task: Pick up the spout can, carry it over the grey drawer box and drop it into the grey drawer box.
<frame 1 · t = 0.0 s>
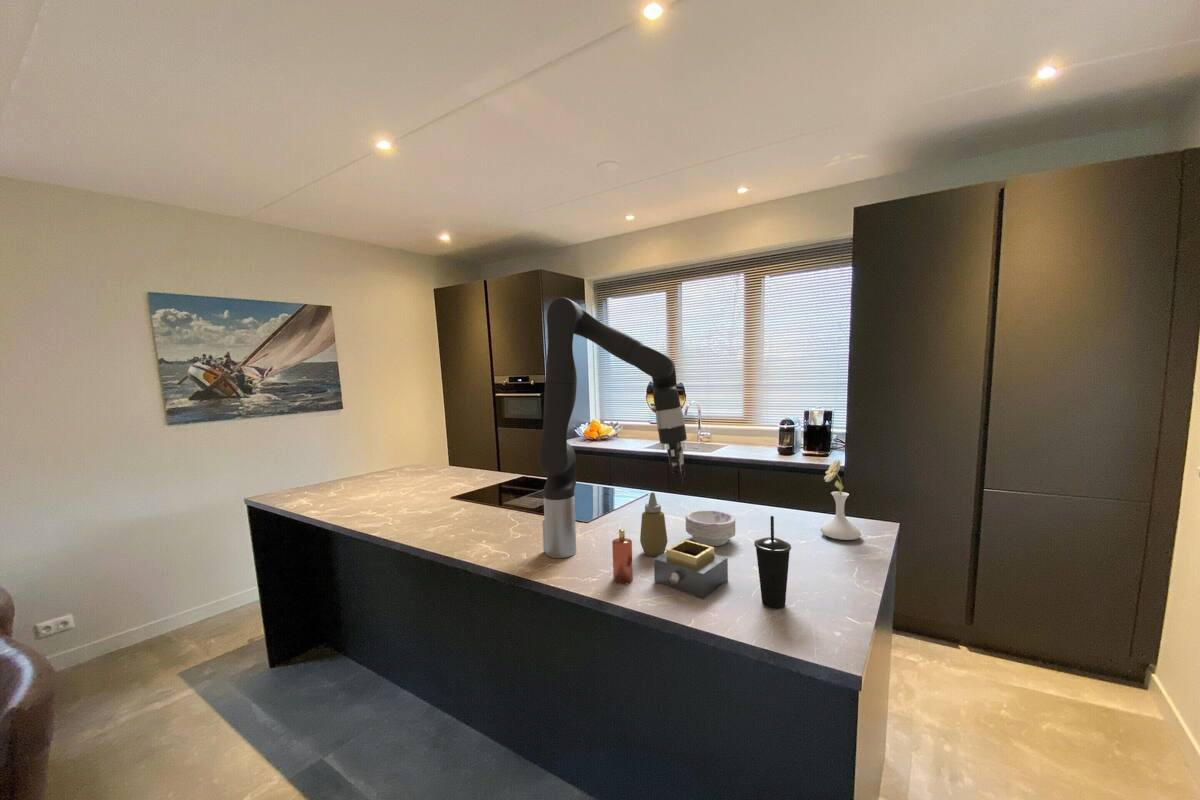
hand: (680, 482, 123), 22 cm above the countertop, tool pointing down, fingers open, 8 cm apart
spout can: (623, 579, 114), on the countertop
paper bowls: (710, 541, 139), on the countertop
drinking cup: (773, 604, 99), on the countertop
squeeze bottle: (654, 553, 130), on the countertop
flower in vase: (839, 538, 138), on the countertop
grey drawer box: (691, 581, 112), on the countertop
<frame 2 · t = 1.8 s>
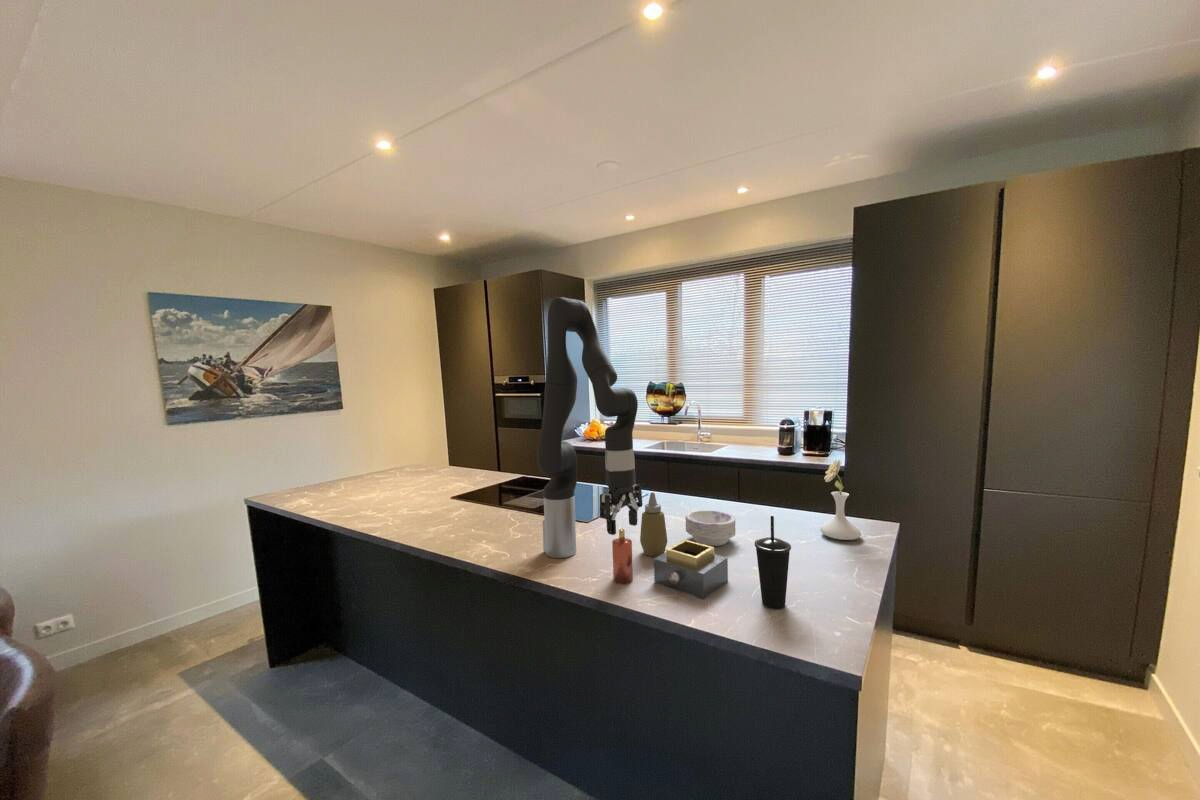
hand: (622, 529, 113), 13 cm above the countertop, tool pointing down, fingers open, 8 cm apart
nothing on the countertop moved.
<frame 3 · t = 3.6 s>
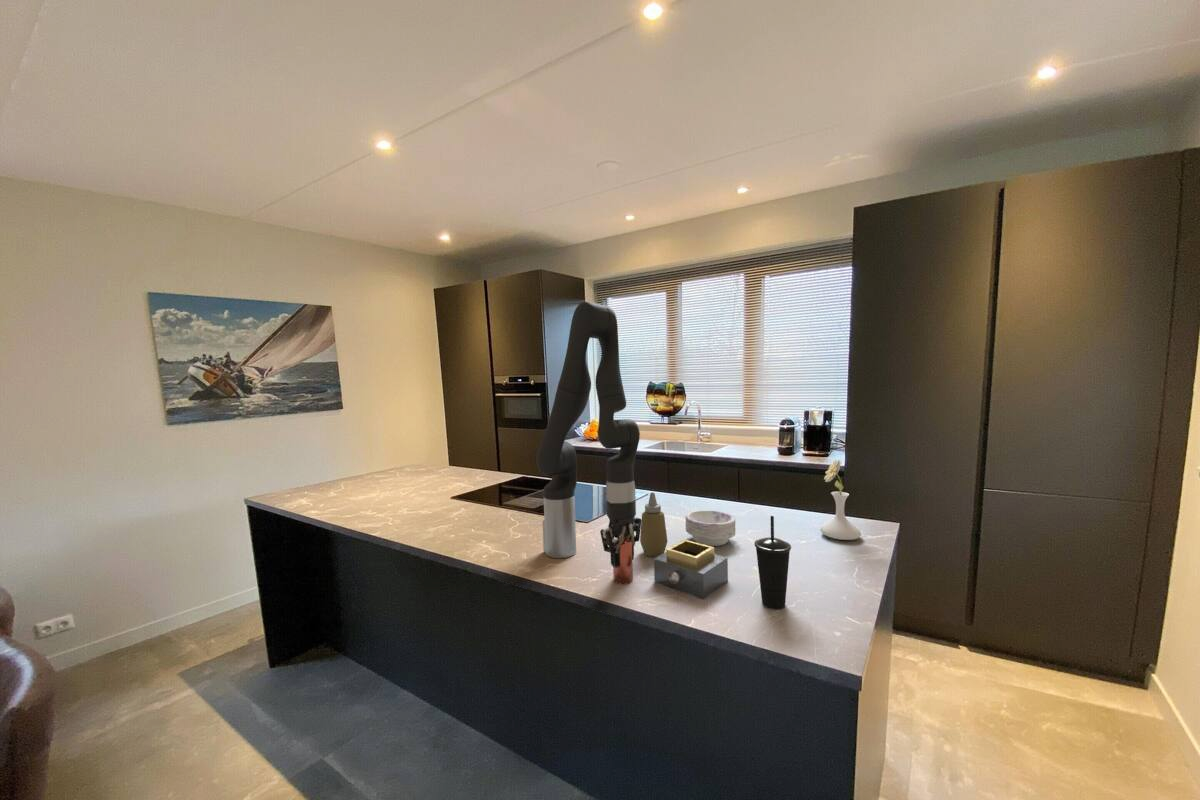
hand: (622, 562, 114), 4 cm above the countertop, tool pointing down, fingers closed on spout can, 5 cm apart
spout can: (623, 579, 114), on the countertop, touching gripper
everything else where it was.
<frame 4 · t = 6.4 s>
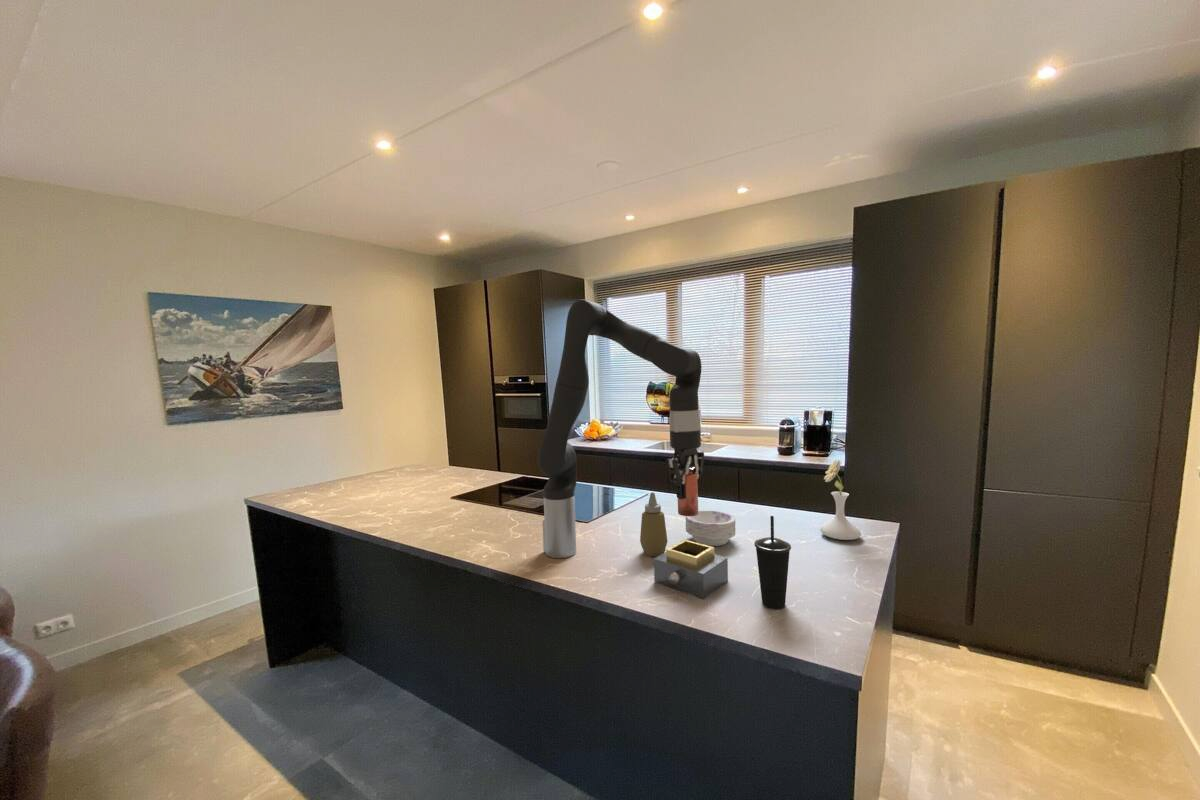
hand: (687, 495, 111), 22 cm above the countertop, tool pointing down, fingers closed on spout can, 5 cm apart
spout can: (688, 513, 111), point 18 cm above the countertop, touching gripper
everything else where it was.
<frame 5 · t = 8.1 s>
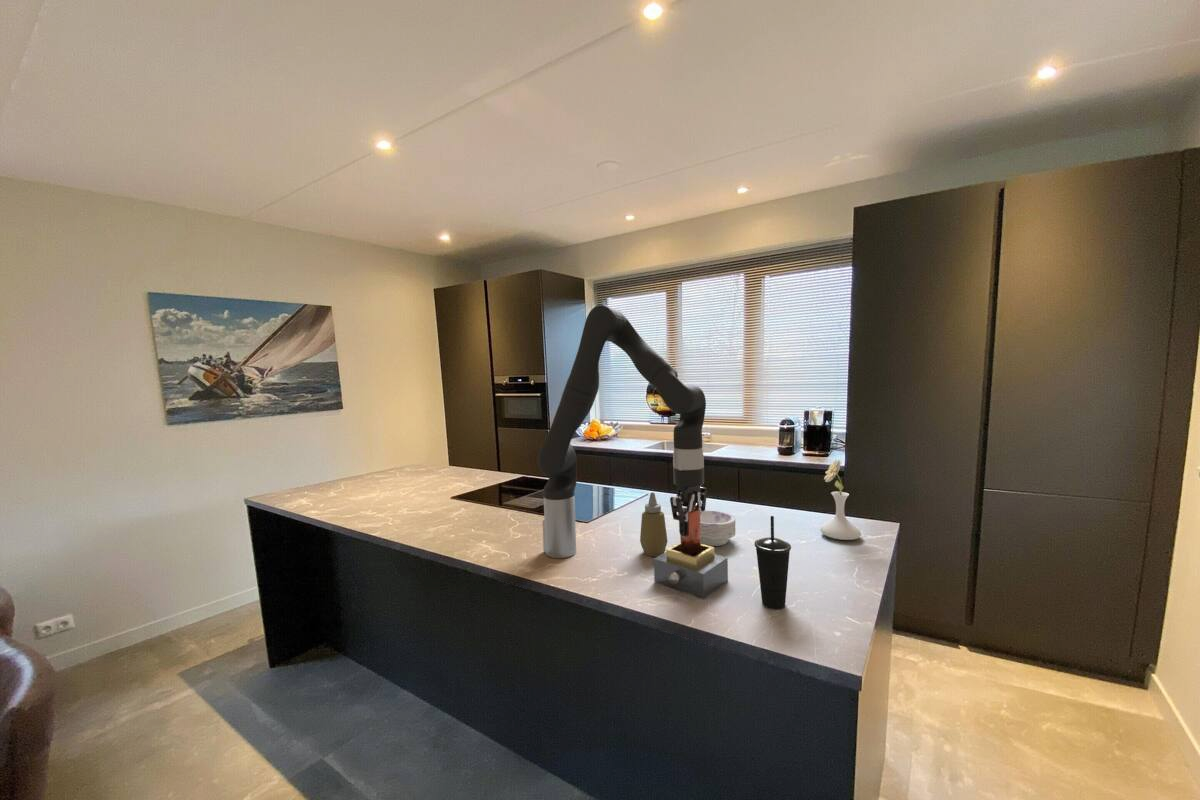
hand: (690, 532, 111), 13 cm above the countertop, tool pointing down, fingers closed on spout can, 5 cm apart
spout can: (690, 549, 111), point 8 cm above the countertop, touching gripper
everything else where it was.
when the fingers open (11 cm above the countertop, at t = 9.4 s): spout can drops 5 cm, resting on grey drawer box.
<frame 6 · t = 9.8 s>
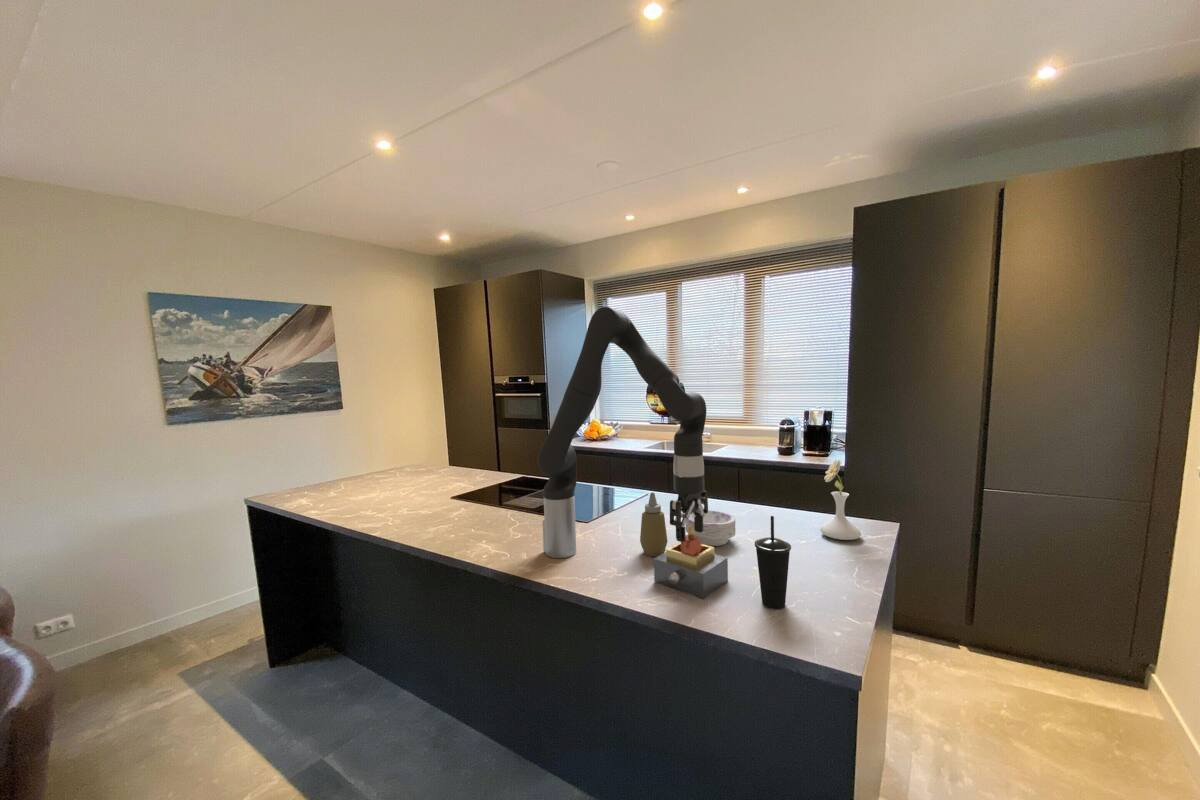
hand: (690, 536, 111), 12 cm above the countertop, tool pointing down, fingers open, 8 cm apart
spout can: (690, 577, 112), point 1 cm above the countertop, touching grey drawer box
everything else where it was.
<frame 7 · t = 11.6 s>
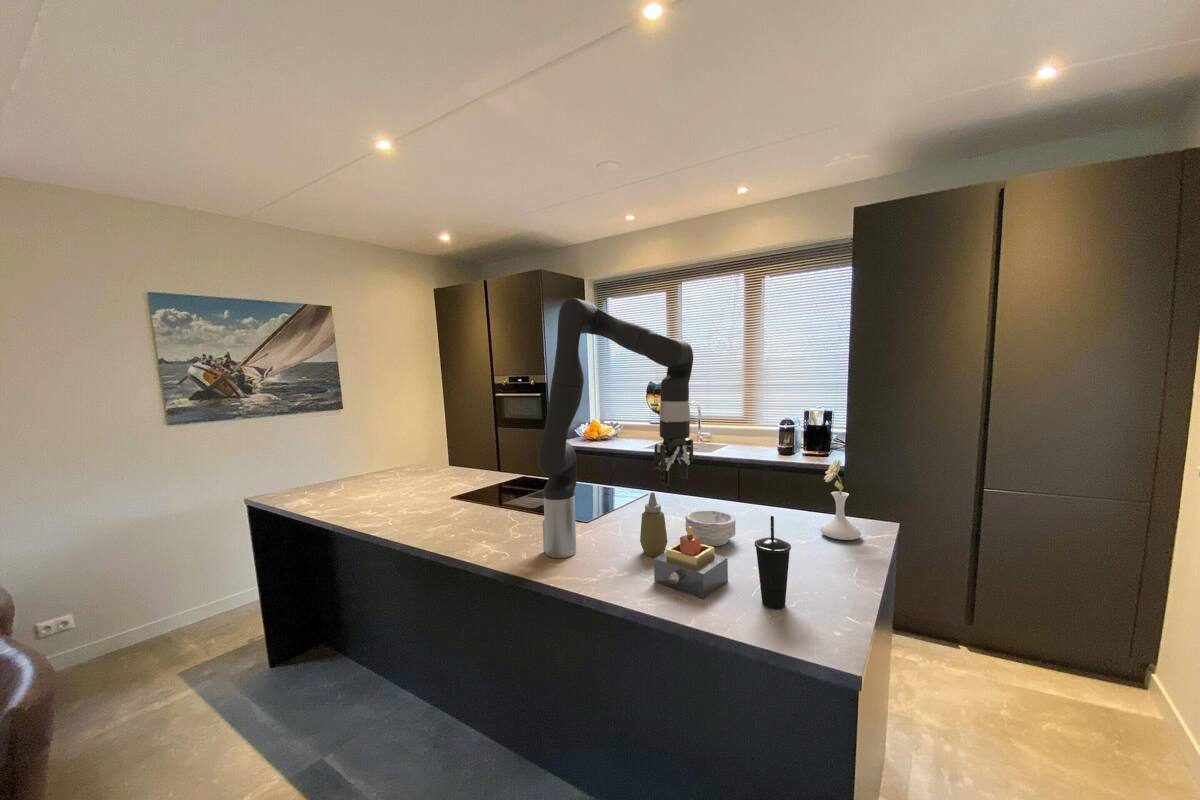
hand: (674, 482, 113), 25 cm above the countertop, tool pointing down, fingers open, 8 cm apart
nothing on the countertop moved.
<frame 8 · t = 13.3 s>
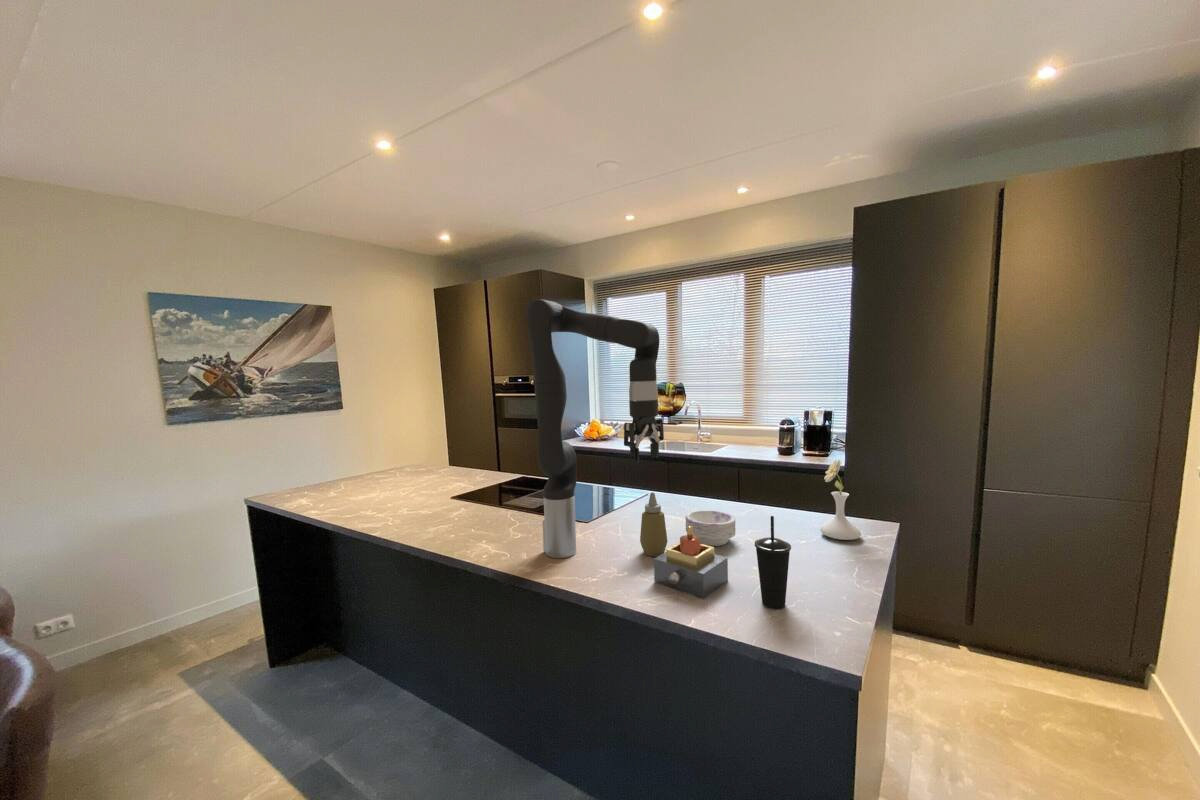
hand: (645, 459, 117), 30 cm above the countertop, tool pointing down, fingers open, 8 cm apart
nothing on the countertop moved.
at the end: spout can 0.1 cm off-centre on the grey drawer box, point 1.0 cm above the grey drawer box's base; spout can tilted 0°; the gripper is holding nothing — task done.
